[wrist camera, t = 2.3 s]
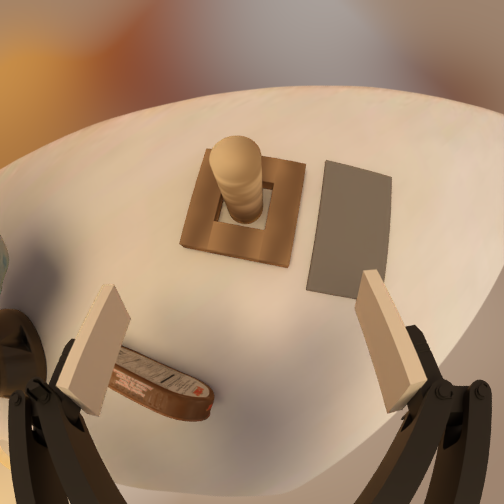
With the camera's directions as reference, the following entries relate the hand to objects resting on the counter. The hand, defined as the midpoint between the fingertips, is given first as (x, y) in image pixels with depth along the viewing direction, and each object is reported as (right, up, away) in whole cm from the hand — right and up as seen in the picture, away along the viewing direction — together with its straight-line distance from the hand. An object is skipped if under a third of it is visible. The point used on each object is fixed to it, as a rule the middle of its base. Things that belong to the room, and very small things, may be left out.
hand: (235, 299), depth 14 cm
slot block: (0, +8, +18) cm, 20 cm away
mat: (+13, +5, +17) cm, 22 cm away
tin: (-10, -12, +16) cm, 22 cm away
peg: (0, +8, +18) cm, 20 cm away
